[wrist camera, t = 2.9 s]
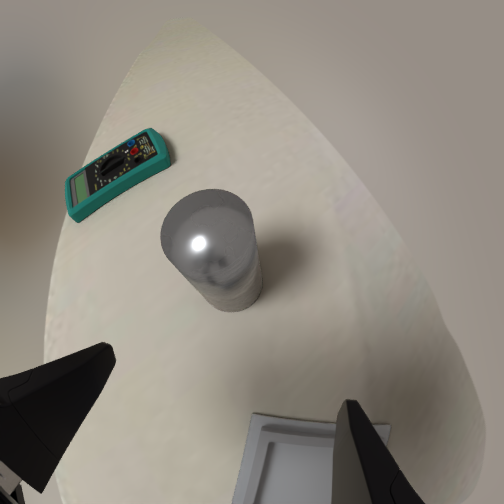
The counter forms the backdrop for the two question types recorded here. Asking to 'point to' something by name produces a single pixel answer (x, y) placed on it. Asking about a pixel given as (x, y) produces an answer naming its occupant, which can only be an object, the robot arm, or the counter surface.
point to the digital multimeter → (115, 173)
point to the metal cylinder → (215, 248)
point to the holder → (289, 461)
